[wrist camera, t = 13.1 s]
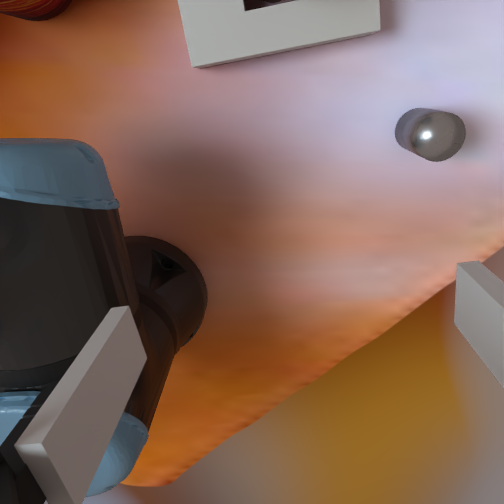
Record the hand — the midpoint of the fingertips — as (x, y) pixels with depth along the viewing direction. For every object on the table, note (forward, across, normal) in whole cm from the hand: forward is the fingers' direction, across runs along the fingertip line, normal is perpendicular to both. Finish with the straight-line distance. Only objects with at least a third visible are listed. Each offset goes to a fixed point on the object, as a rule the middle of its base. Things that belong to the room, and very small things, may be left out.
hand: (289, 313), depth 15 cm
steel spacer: (+27, +14, +2) cm, 30 cm away
